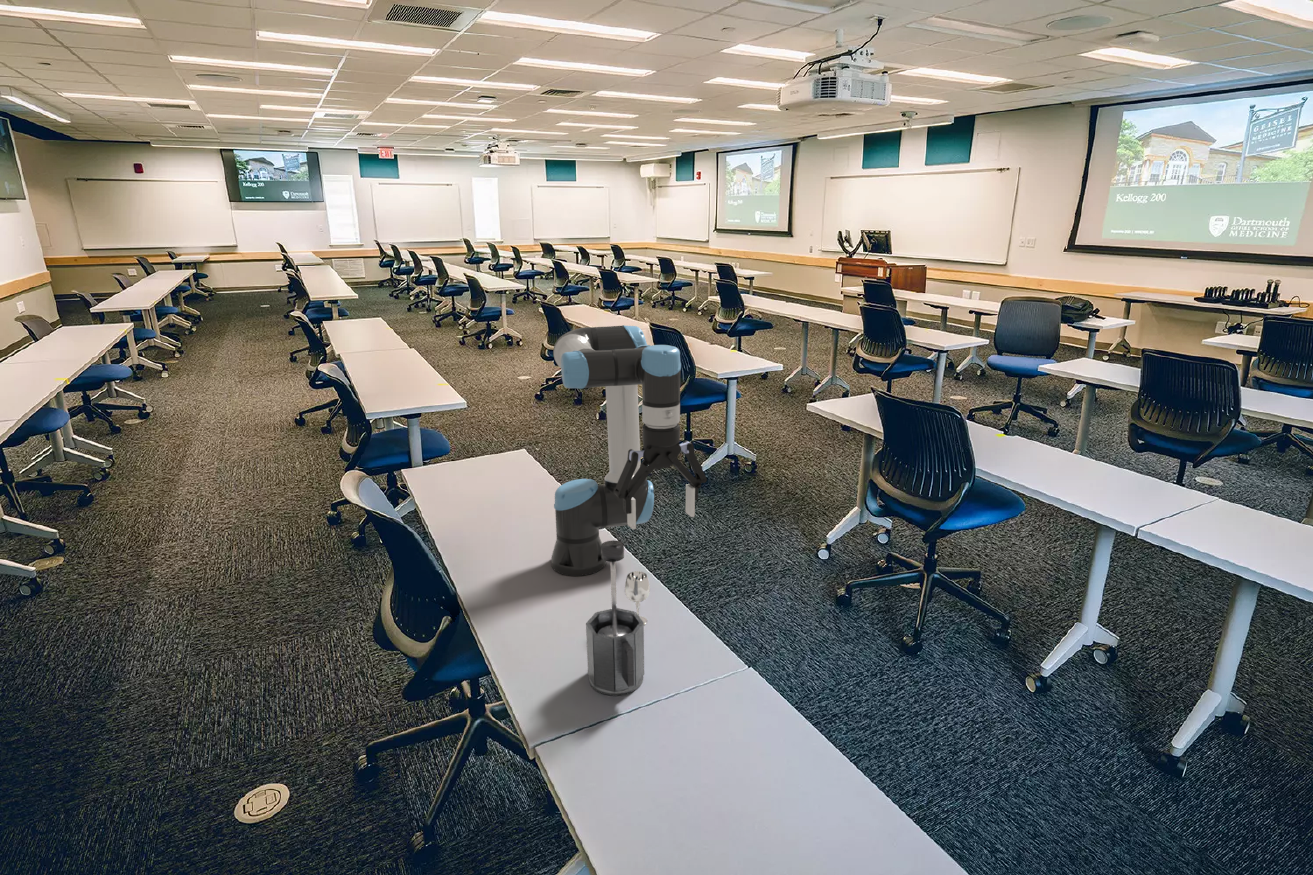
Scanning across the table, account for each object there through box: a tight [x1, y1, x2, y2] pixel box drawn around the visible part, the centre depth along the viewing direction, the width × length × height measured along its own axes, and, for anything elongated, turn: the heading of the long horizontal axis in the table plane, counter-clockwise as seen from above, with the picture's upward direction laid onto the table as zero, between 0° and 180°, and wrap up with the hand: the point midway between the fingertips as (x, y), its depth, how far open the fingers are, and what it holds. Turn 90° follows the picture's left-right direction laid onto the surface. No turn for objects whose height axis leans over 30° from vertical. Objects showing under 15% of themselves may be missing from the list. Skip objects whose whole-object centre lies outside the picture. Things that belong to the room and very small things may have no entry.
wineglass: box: [624, 570, 651, 626], centre depth 161 cm, size 6×6×12 cm
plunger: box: [598, 540, 632, 637], centre depth 136 cm, size 7×7×21 cm
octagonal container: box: [585, 607, 645, 697], centre depth 139 cm, size 14×11×13 cm
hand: (661, 520), depth 144 cm, fingers open, 13 cm apart
